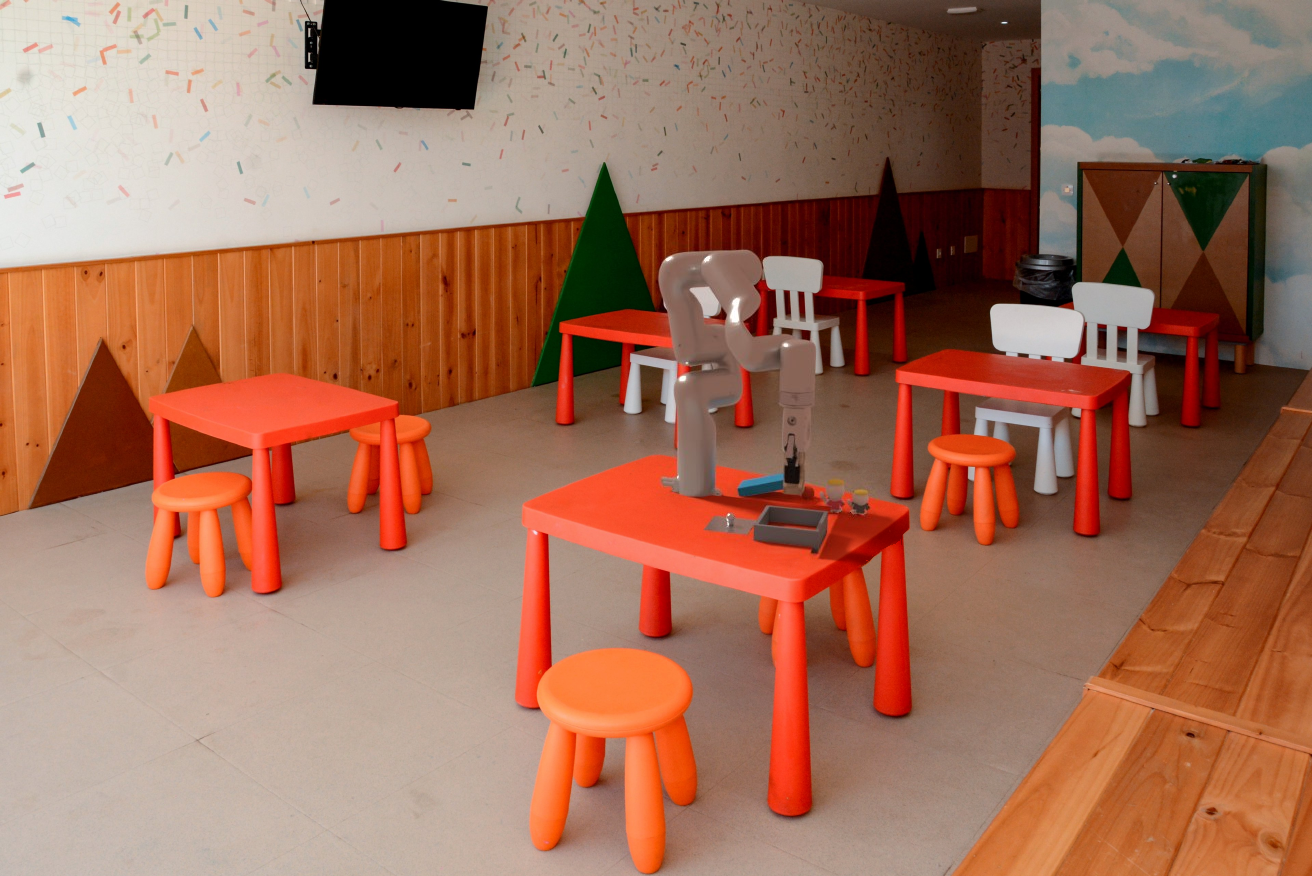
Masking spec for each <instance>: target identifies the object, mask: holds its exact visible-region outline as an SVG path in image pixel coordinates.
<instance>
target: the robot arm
mask: <svg viewBox="0 0 1312 876" xmlns="http://www.w3.org/2000/svg"><path fill="white" fill-rule="evenodd" d="M762 274H763V267H762V262H761V260H760V258H759V257H758V255H756V253H754V252H753V251H751V250H749V249H738V250H737V249H734V250H704V251H687V252H686V251H683V252H679V253H674V254H672V255H671V254H670V255H669V256H667V257H666V258H665V259H663V261H662V263H661V265H660V267H659V270H658V286H659V291H660V293H661V298H662V299H663V302H664V304H665V308H666V311H667V316H668V323H669V324H668V325H669V331H670V337H671V343H672V348H673V353H674V357H675V360H676V362H677V363H679V365H681V366H685V367H691V366H703V365H711V366H712V369H702V370H693V371H689V372H685V373H683V374H681V375H680V376H678V377H677V379H676V380H675V382H674V385H673V396H674V402H675V408H676V419H677V421H676V422H677V425H676V427H677V428H676V429H677V442H676V443H677V444H676V445H677V448H676V449H677V450H676V451H677V452H676V453H677V454H676V456H677V459H676V461H677V463H676V464H677V465H676V468H677V469H676V476H673V477H669V476H661V478H660V484H661V485H662V487H667V488H671V492H673V493H676V494H677V493H678V494H679V495H681V496H684V497H693V498H700V497H701V498H702V497H708V496H709V497H710V496H718V497H722V491H721V489H720V488H717V487H716V477H717V476H716V475H717V473H716V472H717V471H716V467H717V427H716V422H715V420H714V419H713V417H712V415H711V414H710V411H709V410H711V409H716V408H717V409H718V408H724V407H725V408H726V407H730V406H733V405H735V404H737V403H738V402H739V401H740V400H741V398H742V396H743V390H744V389H743V387H744V385H743V377H742V371H741V367H742V368H743V369H744V370H746V371H748V372H751V373H758V372H766V371H772V370H774V371H777V370H779V380H778V381H779V384H778V385H779V386H778V387H779V388H778V389H779V390H778V405H779V406H780V407H783V409H782V410H783V411H782V427H781V450H782V451H783V453H784V452H786V461H785V480H784V482H785V483H789V484H799V482H800V466H799V454H800V452H801V453H802V454H803V453H805V452H806V453H807V450H809V448H810V446H811V444H812V443H811V442H812V437H811V436H812V412H811V411H812V409H811V408H812V407H815V394H816V393H815V391H816V390H815V389H816V366H817V363H816V362H817V360H816V359H817V346H816V344H815V343H814V342H813V341H811V340H807V339H799V338H798V337H795V336H794V335H791V334H787V333H781V334H780V333H779V334H770V335H769V334H768V335H761V336H753V335H752V334H751V333H750V331H749V330H748V328H747V327H746V325H745V323H744V321H746V320H747V319H749V318H750V317H751V316H752V315H754V314H755V312H757V310H759V307H760V305H761V301H762V297H761V295H760V293H759V292H758V290H757V289H756V288H755V286H754V285H756V284H757V283H759V282H760V280H761V278H762ZM707 287H708V289H710V291H711V292H712V294H713V295H714V297H715V298H716V300H717V301H718V303H719V304H720V306H721V308H722V309H723V311H724V312H725V314H726V318H725V322H724V324H720V323H713V324H712V323H711V324H707V323H706V322H705V317H704V310H703V307H702V304H701V302H700V301H699V299H698V298H697V296H696V295H695V294H694V293H693V292H692V291H691V289H693V288H695V289H696V288H707ZM794 449H797V452H794ZM806 453H805V454H806ZM794 455H796V458H795V456H794Z"/></svg>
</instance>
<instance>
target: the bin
mask: <svg viewBox="0 0 1312 876" xmlns="http://www.w3.org/2000/svg"><path fill="white" fill-rule="evenodd" d="M828 518H829V511H827V510H818V509H817V510H816V509H808V508H807V509H806V508H799V507H787V506H779V505H778V506H777V505H768V504H767V505H766V506H765V507H764V509H763V510H762V512H761V513H760V515H759V516H758V518H757V519H756V520H757V521H756V522H755V524H754V525H753V535H752V536H753V538H752V539H753V541H756V542H757V541H758V542H765V543H772V544H773V543H775V544H783V545H792V546H793V545H794V546H801V547H809V548H810V547H811V551H810V554H814V553H817V554H819V551H820V550H821V547H822V545H823V543H824V540H825V538H826V536H827V535H828V534H827V533H828V526H829V524H828V522H829V519H828ZM770 522H771V523H779V524H780V523H782V524H791V525H800V526H810V527H816V528H815V529H807V528H797V527H790V526H781V525H780V526H779V525H769V523H770ZM817 554H816V555H817Z"/></svg>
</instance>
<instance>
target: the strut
mask: <svg viewBox="0 0 1312 876" xmlns="http://www.w3.org/2000/svg"><path fill="white" fill-rule="evenodd" d="M794 452H797V449H794ZM806 453H807V451H806V452H805V453H803V454H802V453H801V452H800V454H799V466H800V482H799V484H789V483H785V482H784V480H785V461H786V452H784V451H783V472H782V473H783V490H782V494H783V495H795V496H801V495H802V493H803V491H804V488H805V486H806V484H805V482H806V481H805V480H806V476H805V475H806ZM794 456H795V458H796V455H794Z"/></svg>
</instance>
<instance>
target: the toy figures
mask: <svg viewBox="0 0 1312 876" xmlns="http://www.w3.org/2000/svg"><path fill="white" fill-rule="evenodd" d="M845 489H846V488H845V481H844V480H842V479H840V478H831V479H829V480H827V484H826V486H825V493H826V494H825V493H824V491H823V490H822V491H819V497H820V500H822V501H823V502H824V505H825V506H828V507H829V508H830V511H829V512H832V513H835V514H836V513H837V512H841V511H842V512H843V508H842V507H844V506H845V505H846V503H845V500H844V499H843V497H844V494H845V491H846V490H845ZM852 493H853V494H852V497H851V498H852V499H850V498H847V499H846V502H847V505H848V506H849V507H850V508H851V510H850V511H849V513H850V512H851V513H854V514H858V515H860V514H867V512H868V511H869V510H870V509H871V506H869V491H867V490H866V489H855V490H853V492H852ZM842 512H841V513H842ZM851 513H850V514H851ZM859 513H860V514H859ZM837 514H838V513H837ZM854 514H853V515H854Z"/></svg>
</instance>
